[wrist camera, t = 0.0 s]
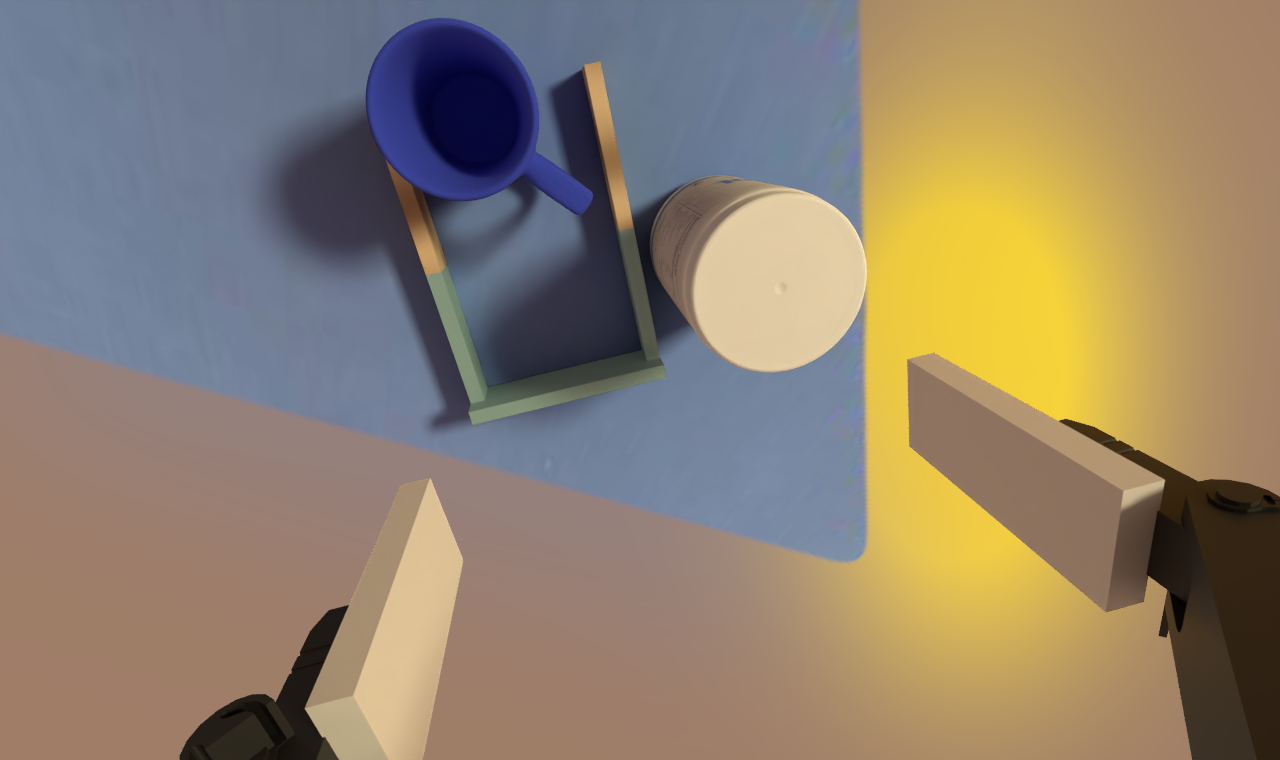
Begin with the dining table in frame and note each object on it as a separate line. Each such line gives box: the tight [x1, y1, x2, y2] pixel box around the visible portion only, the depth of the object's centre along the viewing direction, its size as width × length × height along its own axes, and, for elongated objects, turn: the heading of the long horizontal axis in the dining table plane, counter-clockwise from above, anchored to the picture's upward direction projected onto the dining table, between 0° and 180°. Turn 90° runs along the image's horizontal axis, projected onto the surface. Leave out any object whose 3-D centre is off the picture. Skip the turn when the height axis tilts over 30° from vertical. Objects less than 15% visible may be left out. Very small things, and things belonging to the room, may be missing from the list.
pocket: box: [426, 226, 666, 425], centre depth 42 cm, size 10×14×4 cm
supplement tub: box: [650, 175, 867, 372], centre depth 37 cm, size 10×10×15 cm
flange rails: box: [386, 62, 634, 275], centre depth 39 cm, size 10×14×2 cm
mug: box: [366, 18, 593, 215], centre depth 34 cm, size 8×12×10 cm
